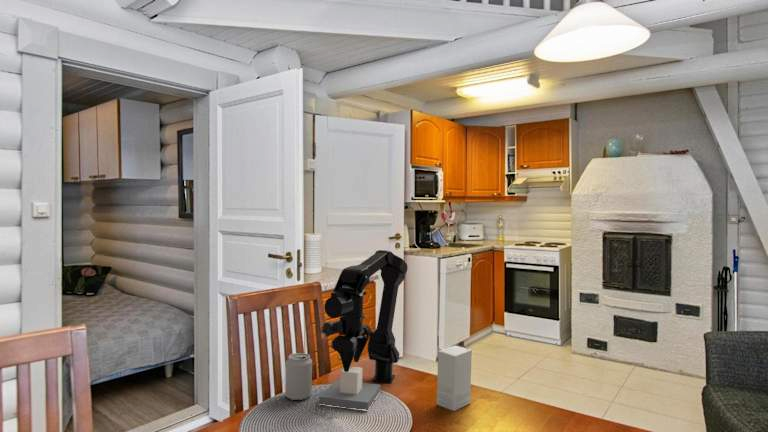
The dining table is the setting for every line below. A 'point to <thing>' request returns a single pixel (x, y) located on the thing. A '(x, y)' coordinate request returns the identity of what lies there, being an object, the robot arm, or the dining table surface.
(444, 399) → the skincare box
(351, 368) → the block
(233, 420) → the dining table surface
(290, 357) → the can
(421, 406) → the dining table surface
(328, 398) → the base board
